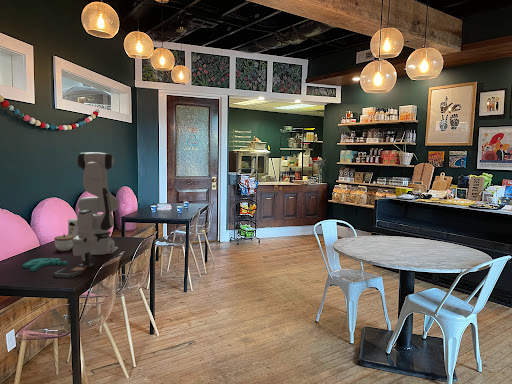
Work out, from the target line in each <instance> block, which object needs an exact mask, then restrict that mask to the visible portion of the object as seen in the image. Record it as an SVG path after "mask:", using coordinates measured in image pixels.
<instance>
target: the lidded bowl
mask: <svg viewBox="0 0 512 384" xmlns="http://www.w3.org/2000/svg"><path fill="white" fill-rule="evenodd" d="M73 238H74V236H70V235H68V234H65V233H64V234H62V235H58V236H55V237H54V238H53V239H54V246H55V248H56V249H57V250H58V251H59V252H65V251H71V249H73V242H72V240H73Z"/></svg>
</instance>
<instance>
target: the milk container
mask: <svg viewBox="0 0 512 384" xmlns="http://www.w3.org/2000/svg"><path fill="white" fill-rule="evenodd" d="M77 218H78V217H77ZM77 218H71V219H68V221H67V229H68V230H67V231H68V233H67V235H70V236H74V238H75V237H76V235H77V232H78V226H77Z"/></svg>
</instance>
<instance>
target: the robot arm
mask: <svg viewBox="0 0 512 384" xmlns="http://www.w3.org/2000/svg"><path fill="white" fill-rule="evenodd" d="M114 163H115V159H114V156H113V155H112V154H111V153H108V152H100V151H99V152H98V151H95V152H84V151H83V152H80V153H78V154H77V158H76V164H77V166H78V168H79V169H82V171H83V175H82V177H83V178H82V186H83V189H84V190H85V192H87V193H88V194H91V195H93V196H84V197H81V198H80V199H79V200H78V202H77V209H78V210H79V211H78V213H77V226H78V232H77V235H76V237H75V238H73V240H72V242H73V247H72V255H73V256H74V257H81V261H82V262H83V261H85V260H86V257H85V253H90V256H91V255H96V256H99V255H100V256H101V255H107V254H108V255H110V254H113V253H115V252H116V251H118V250H119V247H118V246H115V243H116V242H115V241H114V240H113V238H111V237H110V235H111V234H112V231H109V230H111V229H112V227H114V223H115V222H114V217H113V212H116V211H117V210H118V209H119V207H120V206H119V205H120V202H119V199H117V197H115V196H114V195H113V194H111V191H110V190H109V187H108V173H107V172H108V170H110V169H112V168H113V167H114Z"/></svg>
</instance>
